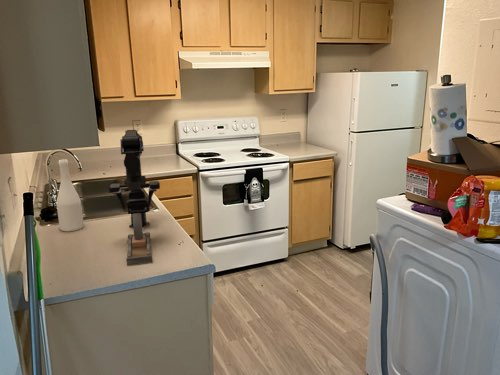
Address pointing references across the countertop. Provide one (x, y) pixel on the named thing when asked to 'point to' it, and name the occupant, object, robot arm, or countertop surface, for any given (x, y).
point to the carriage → (138, 231)
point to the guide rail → (139, 251)
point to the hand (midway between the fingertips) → (136, 208)
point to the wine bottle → (68, 202)
